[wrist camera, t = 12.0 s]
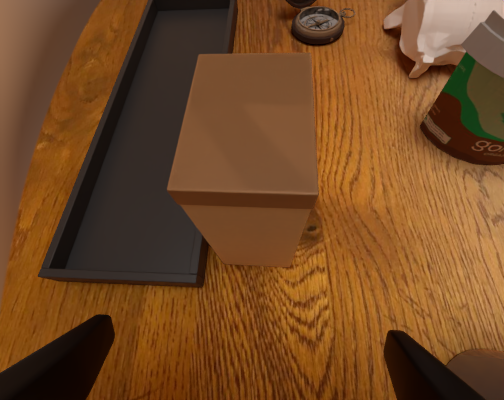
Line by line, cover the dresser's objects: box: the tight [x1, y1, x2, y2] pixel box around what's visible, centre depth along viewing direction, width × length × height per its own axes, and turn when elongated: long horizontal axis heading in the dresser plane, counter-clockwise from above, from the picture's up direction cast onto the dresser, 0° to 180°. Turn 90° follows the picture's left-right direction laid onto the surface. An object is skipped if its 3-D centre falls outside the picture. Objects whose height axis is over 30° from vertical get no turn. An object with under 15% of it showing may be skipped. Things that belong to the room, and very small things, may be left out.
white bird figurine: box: [384, 0, 504, 78], centre depth 26 cm, size 9×8×15 cm
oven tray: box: [38, 0, 238, 287], centre depth 26 cm, size 35×11×2 cm, turn 177°
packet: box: [167, 53, 319, 267], centre depth 15 cm, size 7×5×12 cm
